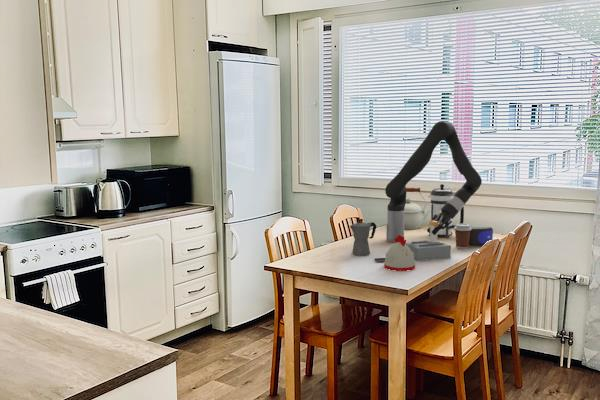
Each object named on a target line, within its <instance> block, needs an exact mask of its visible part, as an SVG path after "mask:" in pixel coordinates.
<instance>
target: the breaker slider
mask: <svg viewBox="0 0 600 400" xmlns="http://www.w3.org/2000/svg"><path fill="white" fill-rule="evenodd" d="M437 225H438V222H437V221H434V220H432V221H431V220H429V227H430V233H429V234H430V236H429V239H427V240H426V241H427V243H430V244H434V243H440V242H441V241H440V240H438V235H437V233H438V232H437V233H436V234H435V235H433V234H432V231H433V230H434V228H435V227H437ZM439 241H440V242H439Z"/></svg>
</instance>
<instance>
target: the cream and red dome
mask: <svg viewBox="0 0 600 400" xmlns="http://www.w3.org/2000/svg"><path fill="white" fill-rule="evenodd" d="M406 242H407V240H406V239H405V236H404V237H402V236H400V235H398V237H396V239H395V242H394V243H393V244H392V245H391V247H389V248H388V251H387V252H385V257H384V258H385V262H383V264H384V266H383V267H384V269H386V268H387V269H386V270H388V269H390V270H389V271H392V270H396V271H395V272H408V271H407V270H410V271H414V270H415V269H416V260H415V259H414V252H411V250H410V248H409V247H408V246H407V245H406V244H405V243H406Z"/></svg>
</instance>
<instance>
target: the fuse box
mask: <svg viewBox="0 0 600 400" xmlns="http://www.w3.org/2000/svg"><path fill="white" fill-rule="evenodd" d="M438 241H439V242H440V243H434V244H430V243H427V240H418V241H417V240H415V241H410V242H408V241H406V243H405V244H406V245H407V246H408V247H409V248H410V250H411V252H414V260H415V261H418V262H419V261H429V260H440V259H451V255H452V254H451V253H452V252H451V251H452V245H451V244H448V243H445V242H443V241H440V240H438Z"/></svg>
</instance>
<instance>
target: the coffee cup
mask: <svg viewBox="0 0 600 400" xmlns="http://www.w3.org/2000/svg"><path fill="white" fill-rule="evenodd" d="M455 225H456V226H455V227H454V228H453V230H454V235H455V236H454V237H455V248H457V249H461V250H463V249H469V239H470V231H471V230H472V228H473V227H471V225H470V224H468V223H463V224H460V223H456V224H455Z"/></svg>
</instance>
